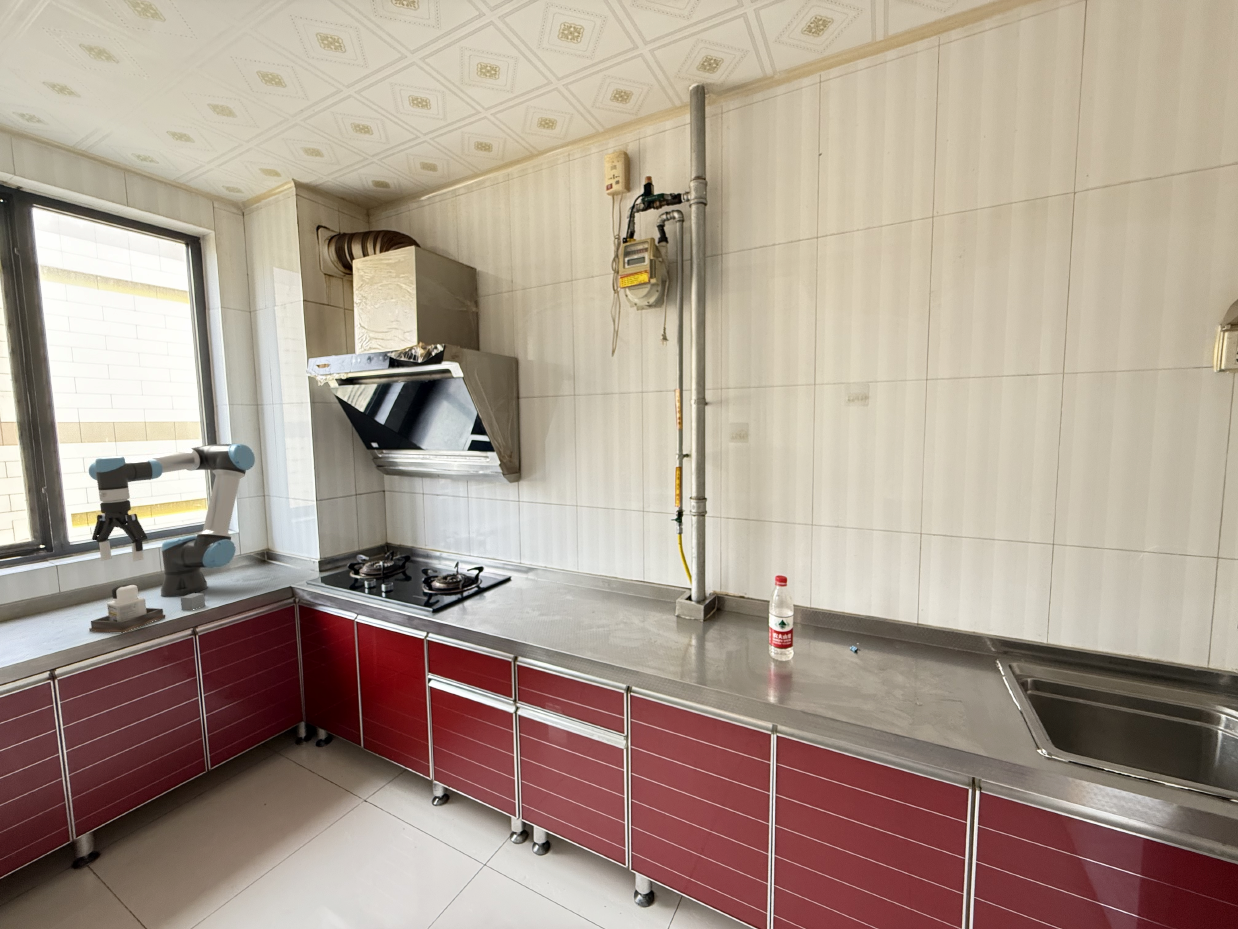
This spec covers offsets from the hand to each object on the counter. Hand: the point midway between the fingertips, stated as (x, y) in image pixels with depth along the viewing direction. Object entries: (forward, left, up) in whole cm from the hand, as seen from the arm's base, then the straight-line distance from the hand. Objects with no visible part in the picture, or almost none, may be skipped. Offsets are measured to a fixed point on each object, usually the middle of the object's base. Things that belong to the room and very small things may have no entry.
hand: (122, 560), depth 181 cm
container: (+1, +2, -22) cm, 22 cm away
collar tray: (+1, +2, -23) cm, 23 cm away
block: (-16, +9, -23) cm, 29 cm away
